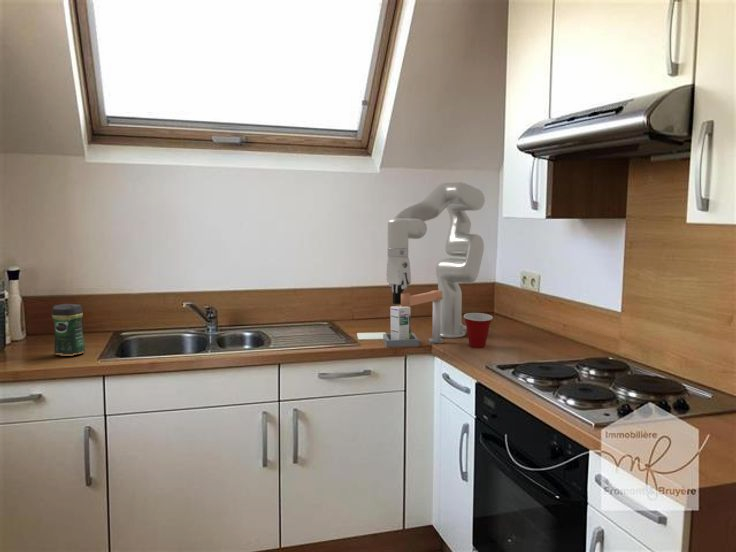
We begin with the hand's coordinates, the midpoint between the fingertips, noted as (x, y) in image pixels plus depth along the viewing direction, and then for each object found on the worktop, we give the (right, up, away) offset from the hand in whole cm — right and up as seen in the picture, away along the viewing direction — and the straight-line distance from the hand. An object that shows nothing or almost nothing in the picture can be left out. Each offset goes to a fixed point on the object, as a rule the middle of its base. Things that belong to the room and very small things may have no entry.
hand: (397, 303), depth 213 cm
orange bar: (+9, 0, +5) cm, 11 cm away
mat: (-9, -15, +26) cm, 31 cm away
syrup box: (+2, -16, +14) cm, 21 cm away
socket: (+7, -16, +14) cm, 22 cm away
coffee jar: (-118, -19, -2) cm, 120 cm away
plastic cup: (+30, -17, +7) cm, 35 cm away
